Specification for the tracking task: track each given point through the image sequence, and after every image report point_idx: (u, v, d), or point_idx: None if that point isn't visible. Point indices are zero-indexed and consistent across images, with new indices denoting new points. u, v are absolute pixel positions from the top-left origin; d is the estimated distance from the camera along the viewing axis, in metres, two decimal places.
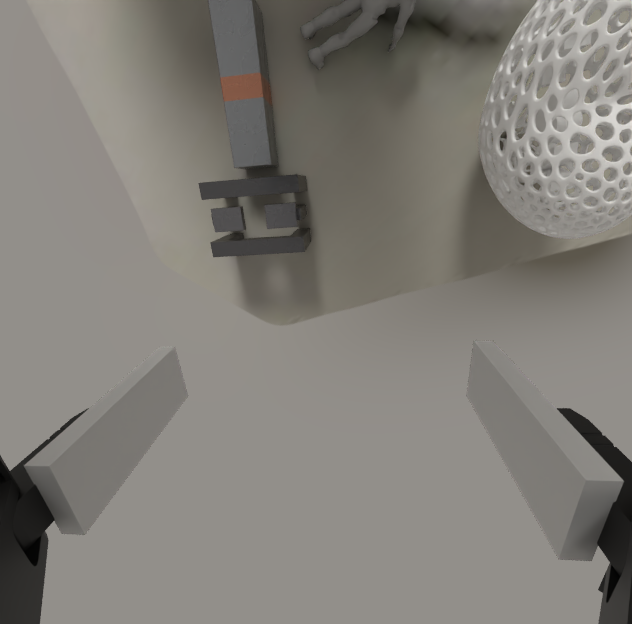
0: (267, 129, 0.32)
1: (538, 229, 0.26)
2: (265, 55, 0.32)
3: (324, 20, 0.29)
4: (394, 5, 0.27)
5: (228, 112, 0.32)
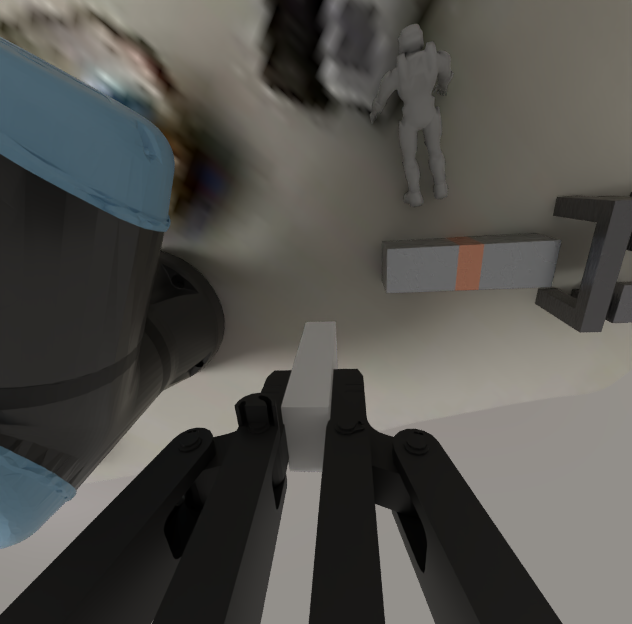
0: (517, 241, 0.26)
1: None
2: (421, 240, 0.30)
3: (418, 177, 0.26)
4: (434, 81, 0.22)
5: (490, 286, 0.28)
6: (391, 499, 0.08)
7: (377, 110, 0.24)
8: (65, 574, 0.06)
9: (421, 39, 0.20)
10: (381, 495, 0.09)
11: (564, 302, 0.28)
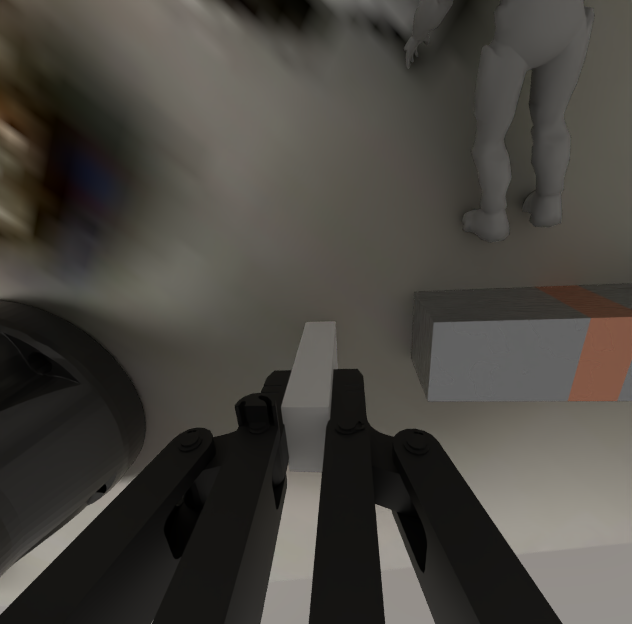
0: None
1: None
2: (490, 292, 0.16)
3: (509, 182, 0.12)
4: None
5: None
6: (391, 499, 0.08)
7: (429, 23, 0.10)
8: (65, 574, 0.06)
9: None
10: (381, 495, 0.09)
11: None
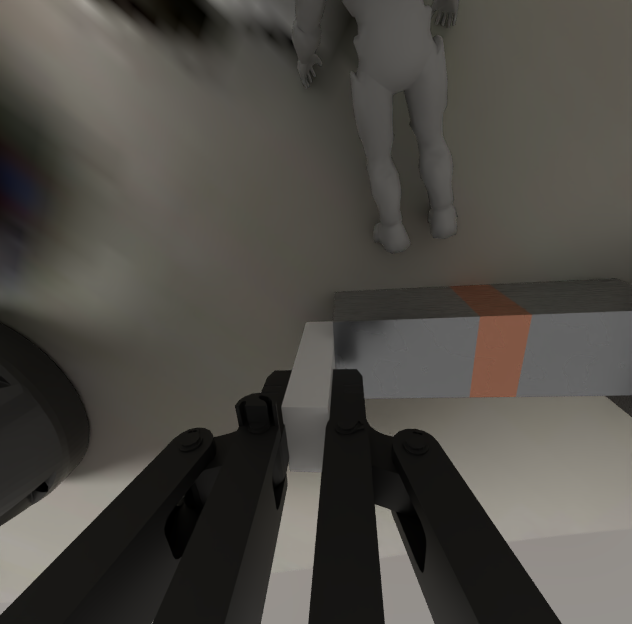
0: (600, 309, 0.13)
1: None
2: (405, 292, 0.16)
3: (397, 197, 0.13)
4: None
5: (541, 391, 0.14)
6: (391, 499, 0.08)
7: (303, 50, 0.11)
8: (65, 574, 0.06)
9: None
10: (380, 495, 0.09)
11: None
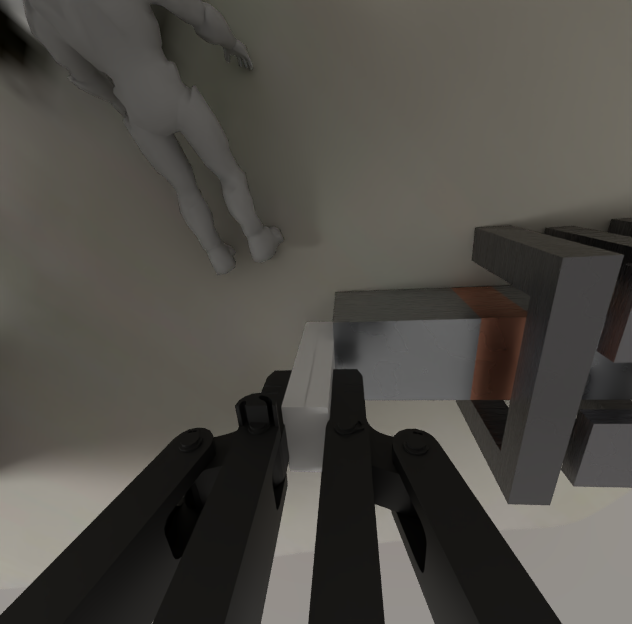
0: None
1: None
2: (406, 293, 0.16)
3: (202, 225, 0.14)
4: (153, 26, 0.10)
5: None
6: (391, 499, 0.08)
7: (92, 94, 0.12)
8: (66, 574, 0.06)
9: None
10: (381, 495, 0.09)
11: (488, 428, 0.15)
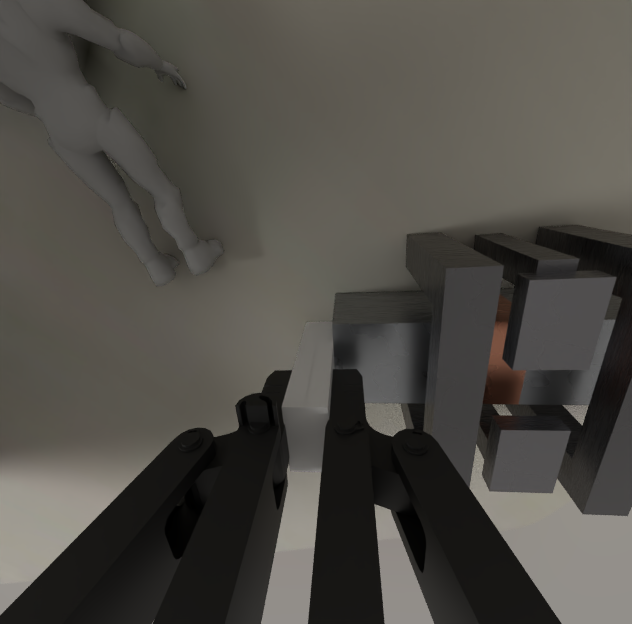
0: (607, 316, 0.12)
1: None
2: (406, 295, 0.16)
3: (136, 239, 0.14)
4: (65, 52, 0.10)
5: (544, 399, 0.14)
6: (391, 498, 0.08)
7: (22, 112, 0.12)
8: (66, 574, 0.06)
9: None
10: (380, 495, 0.09)
11: None
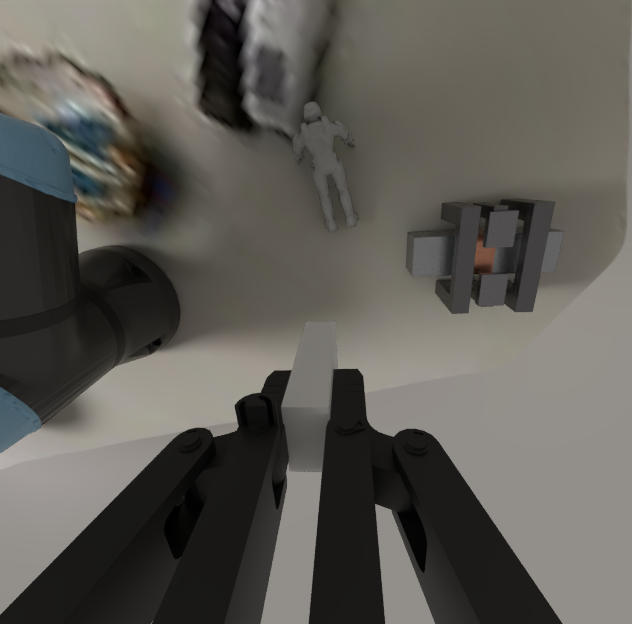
0: None
1: None
2: (442, 231, 0.35)
3: (330, 210, 0.33)
4: (333, 141, 0.29)
5: (502, 270, 0.32)
6: (391, 498, 0.08)
7: (296, 157, 0.31)
8: (65, 574, 0.06)
9: (317, 113, 0.27)
10: (381, 495, 0.09)
11: (446, 290, 0.33)
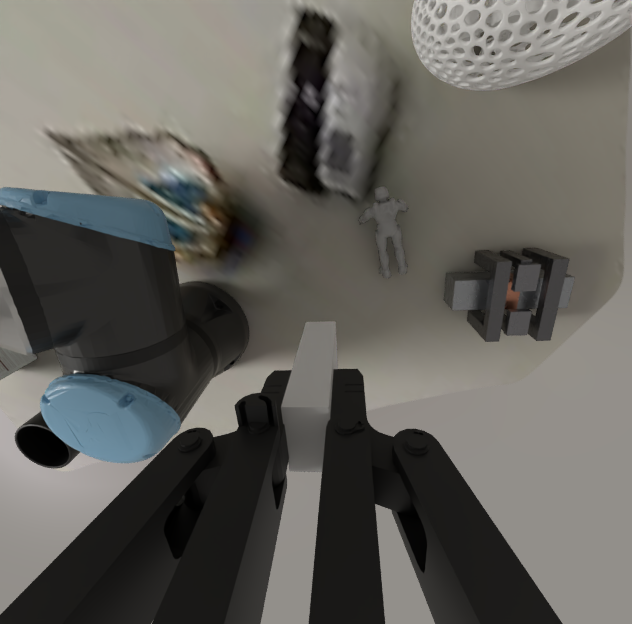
0: None
1: None
2: (475, 272, 0.43)
3: (387, 262, 0.41)
4: None
5: (525, 306, 0.40)
6: (392, 499, 0.08)
7: (362, 222, 0.39)
8: (65, 574, 0.06)
9: (387, 196, 0.35)
10: (381, 495, 0.09)
11: (479, 321, 0.41)
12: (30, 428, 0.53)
